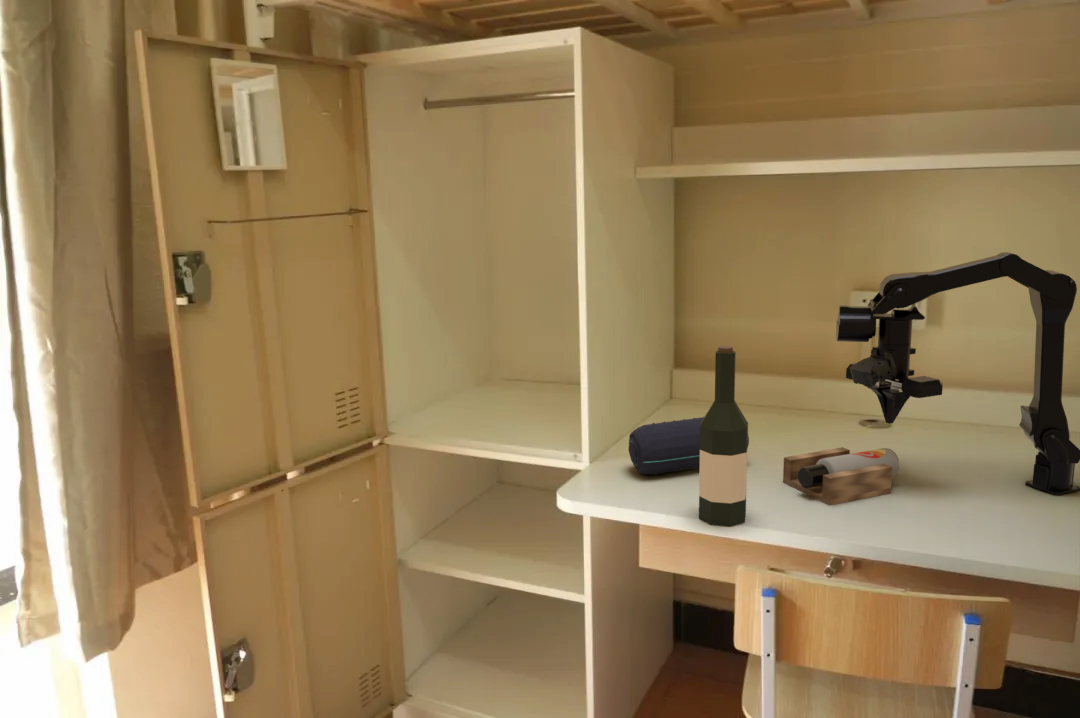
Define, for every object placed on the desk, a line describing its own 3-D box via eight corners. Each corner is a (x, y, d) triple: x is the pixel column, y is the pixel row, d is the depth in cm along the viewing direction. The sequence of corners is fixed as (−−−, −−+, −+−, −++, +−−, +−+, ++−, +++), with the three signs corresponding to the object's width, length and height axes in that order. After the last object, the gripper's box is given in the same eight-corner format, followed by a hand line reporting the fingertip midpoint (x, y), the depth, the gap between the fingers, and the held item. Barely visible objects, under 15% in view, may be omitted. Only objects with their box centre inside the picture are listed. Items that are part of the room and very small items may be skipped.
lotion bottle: (878, 444, 159) (792, 459, 152) (901, 451, 154) (813, 466, 147) (878, 473, 160) (792, 488, 153) (900, 480, 154) (812, 497, 148)
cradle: (841, 471, 164) (842, 447, 163) (890, 492, 152) (892, 467, 151) (782, 482, 159) (783, 457, 158) (829, 505, 147) (830, 478, 146)
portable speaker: (727, 452, 177) (728, 407, 175) (753, 467, 168) (754, 419, 166) (620, 468, 170) (619, 421, 167) (641, 484, 160) (641, 434, 158)
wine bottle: (712, 504, 149) (714, 340, 143) (755, 515, 144) (760, 345, 137) (689, 519, 142) (690, 348, 136) (733, 530, 137) (737, 353, 131)
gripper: (825, 338, 160) (821, 416, 163) (898, 355, 143) (893, 442, 146) (870, 333, 164) (866, 409, 167) (947, 349, 147) (941, 433, 150)
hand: (889, 423), depth 157 cm, fingers closed
